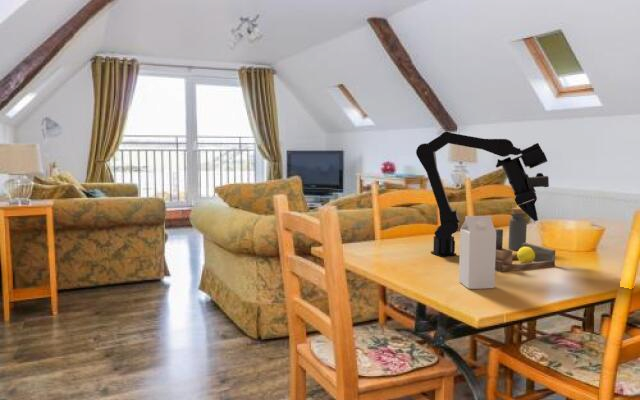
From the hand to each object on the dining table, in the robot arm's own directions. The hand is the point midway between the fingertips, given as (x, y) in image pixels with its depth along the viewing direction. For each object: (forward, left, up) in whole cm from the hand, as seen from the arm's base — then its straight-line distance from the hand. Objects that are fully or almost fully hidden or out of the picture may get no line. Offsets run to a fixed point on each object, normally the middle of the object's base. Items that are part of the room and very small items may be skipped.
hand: (536, 218), depth 164 cm
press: (-10, -2, -14) cm, 17 cm away
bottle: (+7, +16, -14) cm, 23 cm away
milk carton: (-37, -18, -14) cm, 43 cm away
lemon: (-5, -2, -14) cm, 15 cm away
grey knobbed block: (-17, -2, -14) cm, 22 cm away
